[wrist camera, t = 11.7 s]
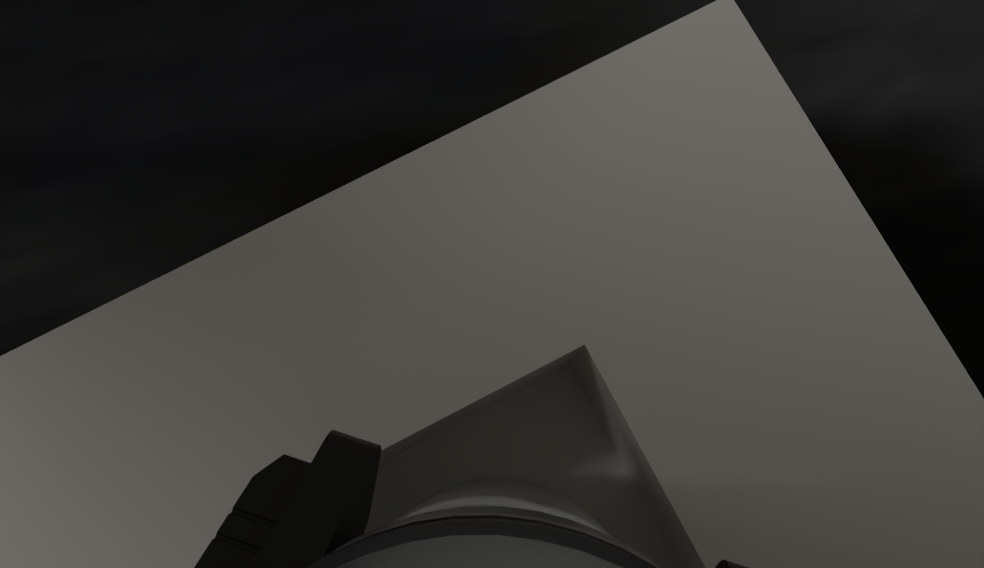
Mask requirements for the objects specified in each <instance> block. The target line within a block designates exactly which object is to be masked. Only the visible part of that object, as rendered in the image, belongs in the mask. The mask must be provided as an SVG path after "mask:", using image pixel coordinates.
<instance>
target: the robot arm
mask: <svg viewBox="0 0 984 568" xmlns="http://www.w3.org/2000/svg"><path fill="white" fill-rule="evenodd" d="M380 455H381V445H378V444H375V443H372V442H369V441H366V440H363V439H360V438H357V437H354V436H351V435H348V434H345V433H342V432H339V431H336V430H332V431H330V432H329V434H328V435H327V436H326V438H325V439H324V441H323V443H322V445H321V446H320V448H319V450H318V452H317V453H316V455H315V457H314V459H313V460H312V462H311V463H309V462H306V461H303V460H300V459H297V458H294V457H291V456H288V455H285V454H283V455H282V456H281V457H279V458H278V459H276V460H275V461H274V462H272V463H271V464H269V465H268V466H267V467H265V468H264V469H262V470H261V471H260V472H258V473H257V474H255V475H254V476H253V477H252V478H251V480H250V481H249V483H248V485H247V486H246V488H245V489H244V491H243V492H242V494H241V495H240V497H239V499H238V500H237V502H236V503H235V505H234V506H233V509H232V512H231V513H229V514H228V516H227V517H226V519H225V520H224V522H223V523H222V525H221V527H220V528H219V530H218V531H217V534H216V537H215V538H214V539H212V541H211V542H210V544H209V545H208V547H207V548H206V550H205V551H204V553H203V554H202V556H201V558H200V559H199V561H198V562H197V564H196V565H195V567H194V568H307V567H308V566H310V565H312V564H313V563H315V562H316V561H318V560H320V559H321V558H323V557H324V556H326V555H328V554H329V553H331V552H333V551H334V550H336V549H337V548H339V547H341V546H342V545H344V544H346V543H347V542H349V541H351V540H352V539H354V538H356V537H358V536H360V535H363V534H364V532H365V529H366V526H367V522H368V519H369V515H370V510H371V505H372V499H373V494H374V488H375V483H376V477H377V472H378V466H379V461H380ZM715 568H748V567H745V566H742V565H739V564H736V563H733V562H730V561H727V560H721V561H720V562H719V563H718V564H717V566H716V567H715Z"/></svg>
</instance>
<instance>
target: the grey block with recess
mask: <svg viewBox="0 0 984 568" xmlns="http://www.w3.org/2000/svg"><path fill="white" fill-rule="evenodd" d="M332 430H336V431H339V432H342V433H345V434H348V435H351V436H354V437H357V438H360V439H363V440H366V441H369V442H372V443H375V444H378V445H381V455H380V461H379V466H378V472H377V477H376V483H375V488H374V494H373V499H372V505H371V510H370V515H369V519H368V522H367V526H366V529H365V532H364V534H365V533H367V532H369V531H372V530H374V529H376V528H378V527H381V526H383V525H385V524H387V523H390V522H394V521H395V520H396V519H398V518H399V517H401V516H402V515H404V514H405V513H406V512H408V511H409V510H411V509H412V508H414V507H415V506H416V505H418V504H419V503H421V502H422V501H424V500H425V499H427V498H428V497H430V496H432V495H433V494H435V493H437V492H438V491H440V490H443V489H445V488H447V487H449V486H452V485H454V484H457V483H460V482H464V481H467V480H471V479H477V478H484V477H511V478H520V479H524V480H528V481H532V482H536V483H539V484H542V485H544V486H546V487H549V488H551V489H554V490H556V491H557V492H559V493H561V494H563V495H564V496H566V497H568V498H569V499H571V500H572V501H573V502H575V503H576V504H577V505H579V506H580V507H581V508H583V509H584V510H585V511H586V512H587V513H588V514H589V515H590V516H591V517H592V518H593V519H594V520H596V521H597V522H598V523H599V524H600V525H601V526H602V527H603V528H604V529H605V530H606V531H607V532H608V533H610V534H611V535H612V536H613V537H614V538H615V539H617V540H619V541H621V542H622V543H624V544H626V545H628V546H629V547H631V548H633V549H635V550H636V551H638V552H640V553H642V554H643V555H644V556H646V557H647V558H648V559H650V560H651V561H652V562H654V563H655V564H656V565H658V566H659V567H660V568H715V567H716V566H717V564H718V563H719V562H720V561H721V560H727V561H730V562H733V563H736V564H739V565H742V566H745V567H748V568H984V399H983V397H982V395H981V394H980V392H979V391H978V389H977V387H976V386H975V384H974V383H973V381H972V379H971V378H970V376H969V375H968V373H967V371H966V370H965V368H964V367H963V365H962V363H961V362H960V360H959V359H958V357H957V355H956V354H955V352H954V351H953V349H952V347H951V346H950V344H949V343H948V341H947V339H946V338H945V336H944V335H943V333H942V331H941V330H940V328H939V327H938V325H937V324H936V322H935V320H934V319H933V317H932V316H931V314H930V312H929V311H928V309H927V308H926V306H925V304H924V303H923V301H922V300H921V298H920V296H919V295H918V293H917V292H916V290H915V288H914V287H913V285H912V284H911V282H910V280H909V279H908V277H907V276H906V274H905V272H904V271H903V269H902V268H901V266H900V264H899V263H898V261H897V260H896V258H895V256H894V255H893V253H892V252H891V250H890V248H889V247H888V245H887V244H886V242H885V241H884V239H883V237H882V236H881V234H880V233H879V231H878V229H877V228H876V226H875V225H874V223H873V221H872V220H871V218H870V217H869V215H868V213H867V212H866V210H865V209H864V207H863V205H862V204H861V202H860V201H859V199H858V197H857V196H856V194H855V193H854V191H853V189H852V188H851V186H850V185H849V183H848V181H847V180H846V178H845V177H844V175H843V173H842V172H841V170H840V169H839V167H838V166H837V164H836V162H835V161H834V159H833V158H832V156H831V154H830V153H829V151H828V150H827V148H826V146H825V145H824V143H823V142H822V140H821V138H820V137H819V135H818V134H817V132H816V130H815V129H814V127H813V126H812V124H811V122H810V121H809V119H808V118H807V116H806V114H805V113H804V111H803V110H802V108H801V106H800V105H799V103H798V102H797V100H796V98H795V97H794V95H793V94H792V92H791V90H790V89H789V87H788V86H787V84H786V83H785V81H784V79H783V78H782V76H781V75H780V73H779V71H778V70H777V68H776V67H775V65H774V63H773V62H772V60H771V59H770V57H769V55H768V54H767V52H766V51H765V49H764V47H763V46H762V44H761V43H760V41H759V39H758V38H757V36H756V35H755V33H754V31H753V30H752V28H751V27H750V25H749V23H748V22H747V20H746V19H745V17H744V15H743V14H742V12H741V11H740V9H739V7H738V6H737V4H736V3H735V1H734V0H717V1H715V2H713V3H710V4H708V5H706V6H704V7H702V8H700V9H698V10H696V11H694V12H692V13H690V14H688V15H686V16H684V17H682V18H680V19H678V20H676V21H674V22H672V23H670V24H668V25H666V26H664V27H662V28H660V29H658V30H656V31H654V32H652V33H650V34H648V35H646V36H644V37H642V38H640V39H638V40H636V41H634V42H632V43H630V44H628V45H626V46H624V47H622V48H620V49H618V50H616V51H614V52H612V53H610V54H608V55H606V56H604V57H602V58H600V59H598V60H596V61H594V62H592V63H590V64H588V65H586V66H584V67H582V68H580V69H578V70H576V71H574V72H572V73H570V74H568V75H566V76H564V77H562V78H559V79H557V80H555V81H553V82H551V83H549V84H547V85H545V86H543V87H541V88H539V89H537V90H535V91H533V92H531V93H529V94H527V95H525V96H523V97H521V98H519V99H517V100H515V101H513V102H511V103H509V104H507V105H505V106H503V107H501V108H499V109H497V110H495V111H493V112H491V113H489V114H487V115H485V116H483V117H481V118H479V119H477V120H475V121H473V122H471V123H469V124H467V125H465V126H463V127H461V128H459V129H457V130H455V131H453V132H451V133H449V134H447V135H445V136H443V137H441V138H439V139H437V140H435V141H433V142H431V143H429V144H427V145H425V146H423V147H421V148H419V149H417V150H415V151H413V152H411V153H409V154H406V155H404V156H402V157H400V158H398V159H396V160H394V161H392V162H390V163H388V164H386V165H384V166H382V167H380V168H378V169H376V170H374V171H372V172H370V173H368V174H366V175H364V176H362V177H360V178H358V179H356V180H354V181H352V182H350V183H348V184H346V185H344V186H342V187H340V188H338V189H336V190H334V191H332V192H330V193H328V194H326V195H324V196H322V197H320V198H318V199H316V200H314V201H312V202H310V203H308V204H306V205H304V206H302V207H300V208H298V209H296V210H294V211H292V212H290V213H288V214H286V215H284V216H282V217H280V218H278V219H276V220H274V221H272V222H270V223H268V224H266V225H264V226H262V227H260V228H258V229H256V230H253V231H251V232H249V233H247V234H245V235H243V236H241V237H239V238H237V239H235V240H233V241H231V242H229V243H227V244H225V245H223V246H221V247H219V248H217V249H215V250H213V251H211V252H209V253H207V254H205V255H203V256H201V257H199V258H197V259H195V260H193V261H191V262H189V263H187V264H185V265H183V266H181V267H179V268H177V269H175V270H173V271H171V272H169V273H167V274H165V275H163V276H161V277H159V278H157V279H155V280H153V281H151V282H149V283H147V284H145V285H143V286H141V287H139V288H137V289H135V290H133V291H131V292H129V293H127V294H125V295H123V296H121V297H119V298H117V299H115V300H113V301H111V302H109V303H107V304H105V305H103V306H100V307H98V308H96V309H94V310H92V311H90V312H88V313H86V314H84V315H82V316H80V317H78V318H76V319H74V320H72V321H70V322H68V323H66V324H64V325H62V326H60V327H58V328H56V329H54V330H52V331H50V332H48V333H46V334H44V335H42V336H40V337H38V338H36V339H34V340H32V341H30V342H28V343H26V344H24V345H22V346H20V347H18V348H16V349H14V350H12V351H10V352H8V353H6V354H4V355H2V356H0V568H194V567H195V565H196V564H197V562H198V561H199V559H200V558H201V556H202V554H203V553H204V551H205V550H206V548H207V547H208V545H209V544H210V542H211V541H212V539H214V538H215V537H216V534H217V531H218V530H219V528H220V527H221V525H222V523H223V522H224V520H225V519H226V517H227V516H228V514H229V513H231V512H232V509H233V506H234V505H235V503H236V502H237V500H238V499H239V497H240V495H241V494H242V492H243V491H244V489H245V488H246V486H247V485H248V483H249V481H250V480H251V478H252V477H253V476H254V475H255V474H257V473H258V472H260V471H261V470H262V469H264V468H265V467H267V466H268V465H269V464H271V463H272V462H274V461H275V460H276V459H278V458H279V457H281V456H282V455H283V454H285V455H288V456H291V457H294V458H297V459H300V460H303V461H306V462H309V463H311V462H312V460H313V459H314V457H315V455H316V453H317V452H318V450H319V448H320V446H321V445H322V443H323V441H324V439H325V438H326V436H327V435H328V434H329V432H330V431H332Z"/></svg>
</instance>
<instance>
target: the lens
mask: <svg viewBox="0 0 984 568" xmlns="http://www.w3.org/2000/svg"><path fill="white" fill-rule="evenodd" d="M307 568H660V567H659V566H658V565H656V564H655V563H654V562H652V561H651V560H650V559H648V558H647V557H646V556H644V555H643V554H642V553H640V552H638V551H636V550H635V549H633V548H631V547H629V546H628V545H626V544H624V543H622V542H621V541H619V540H617V539H615V538H614V537H613V536H612V535H611V534H610V533H608V532H607V531H606V530H605V529H604V528H603V527H602V526H601V525H600V524H599V523H598V522H597V521H596V520H594V519H593V518H592V517H591V516H590V515H589V514H588V513H587V512H586V511H585V510H584V509H583V508H581V507H580V506H579V505H577V504H576V503H575V502H573V501H572V500H571V499H569V498H568V497H566V496H564V495H563V494H561V493H559V492H557V491H556V490H554V489H551V488H549V487H546V486H544V485H542V484H539V483H536V482H532V481H528V480H524V479H520V478H511V477H484V478H477V479H471V480H467V481H464V482H460V483H457V484H454V485H452V486H449V487H447V488H445V489H443V490H440V491H438V492H437V493H435V494H433V495H432V496H430V497H428V498H427V499H425V500H424V501H422V502H421V503H419V504H418V505H416V506H415V507H414V508H412V509H411V510H409V511H408V512H406V513H405V514H404V515H402V516H401V517H399V518H398V519H396V520H395V521H394V522H390V523H387V524H385V525H383V526H381V527H378V528H376V529H374V530H372V531H369V532H367V533H365V534H363V535H360V536H358V537H356V538H354V539H352V540H351V541H349V542H347V543H346V544H344V545H342V546H341V547H339V548H337V549H336V550H334V551H333V552H331V553H329V554H328V555H326V556H324V557H323V558H321V559H320V560H318V561H316V562H315V563H313V564H312V565H310V566H308V567H307Z"/></svg>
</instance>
